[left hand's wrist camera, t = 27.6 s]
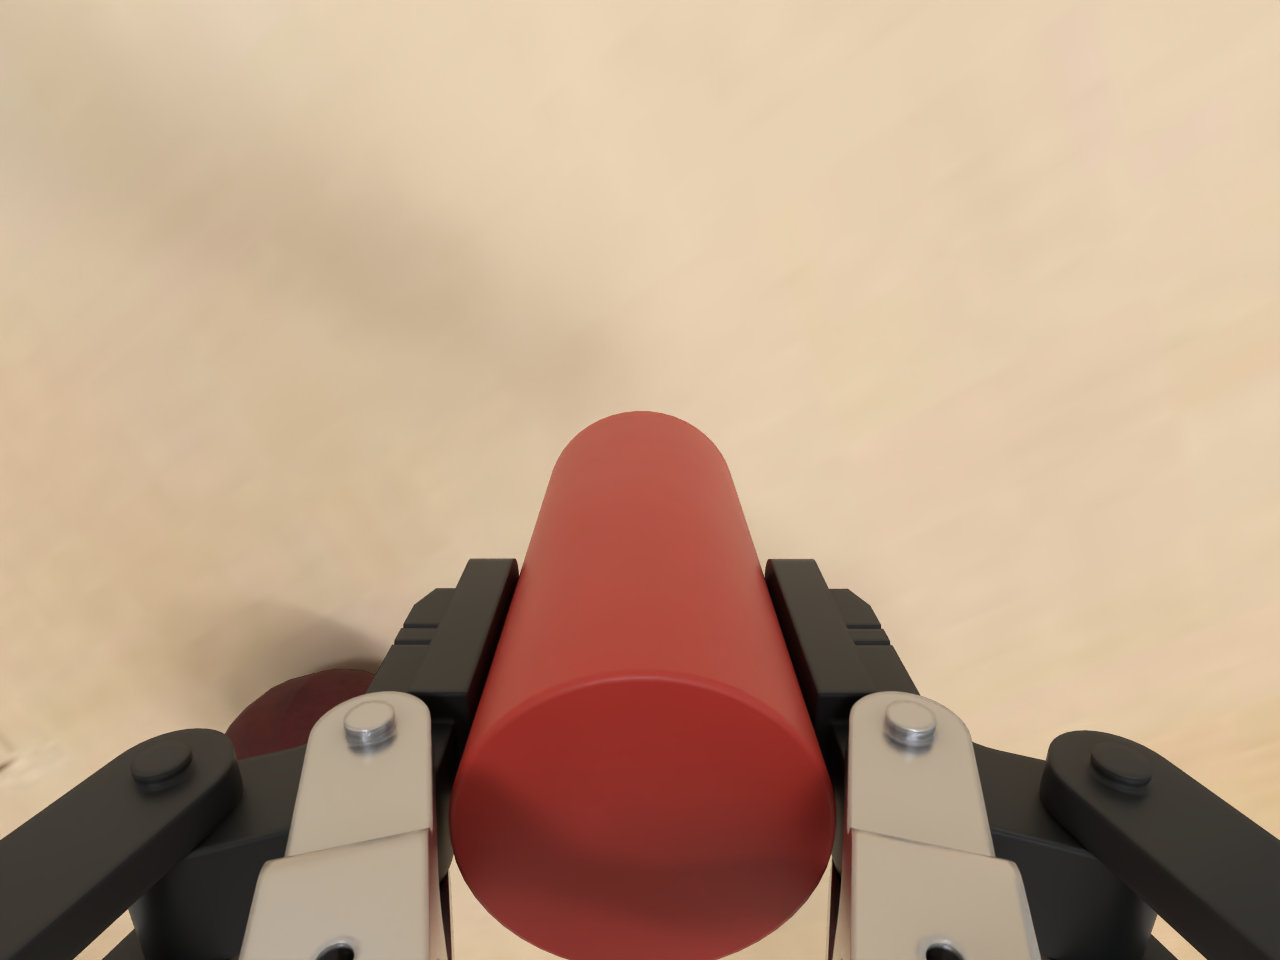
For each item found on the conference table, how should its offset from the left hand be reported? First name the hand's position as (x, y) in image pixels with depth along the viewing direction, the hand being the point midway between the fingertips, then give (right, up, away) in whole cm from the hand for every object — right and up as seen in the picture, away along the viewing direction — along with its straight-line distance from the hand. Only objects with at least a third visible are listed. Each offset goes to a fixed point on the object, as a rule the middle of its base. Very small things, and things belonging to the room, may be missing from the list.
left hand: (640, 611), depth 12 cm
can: (0, +2, +4) cm, 4 cm away
